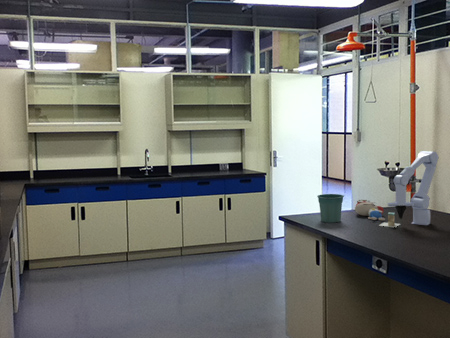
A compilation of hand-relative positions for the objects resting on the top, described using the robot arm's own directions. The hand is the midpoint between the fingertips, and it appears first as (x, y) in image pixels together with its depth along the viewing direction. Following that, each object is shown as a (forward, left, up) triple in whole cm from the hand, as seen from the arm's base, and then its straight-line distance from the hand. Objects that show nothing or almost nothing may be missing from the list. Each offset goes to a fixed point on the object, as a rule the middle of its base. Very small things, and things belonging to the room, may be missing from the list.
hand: (400, 218), depth 297 cm
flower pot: (+42, +3, -5) cm, 43 cm away
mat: (+6, 0, -5) cm, 8 cm away
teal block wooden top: (+5, 0, -4) cm, 7 cm away
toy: (+24, -20, -5) cm, 32 cm away
